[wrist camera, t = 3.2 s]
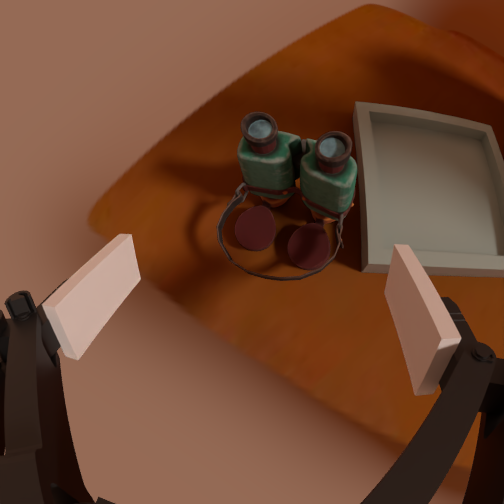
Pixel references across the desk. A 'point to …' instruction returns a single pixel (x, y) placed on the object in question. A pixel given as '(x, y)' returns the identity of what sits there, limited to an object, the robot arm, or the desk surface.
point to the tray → (429, 190)
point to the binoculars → (292, 190)
